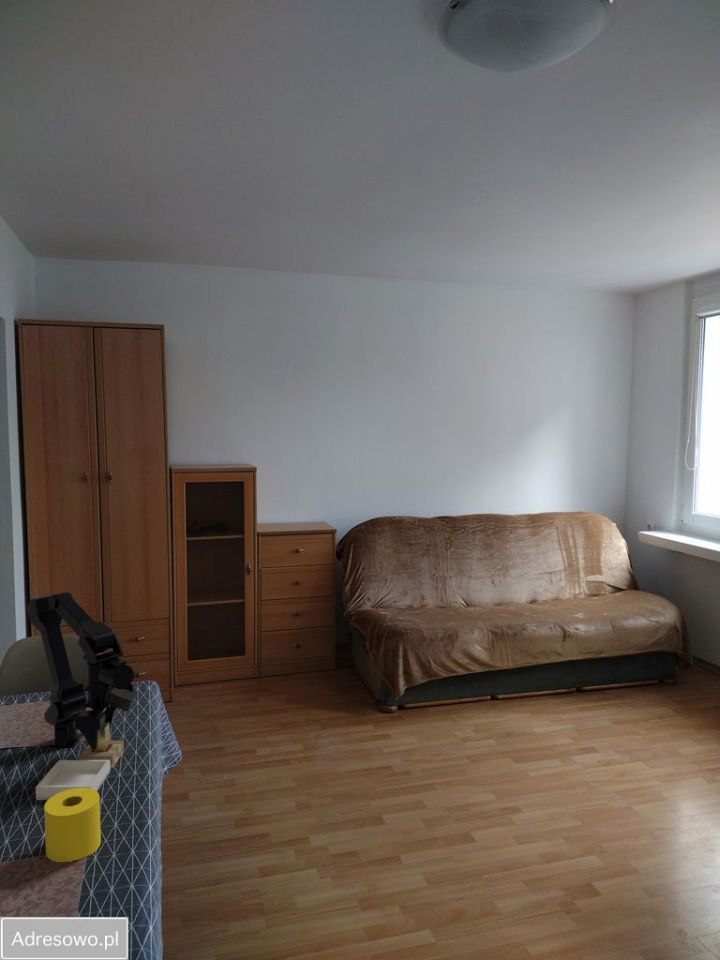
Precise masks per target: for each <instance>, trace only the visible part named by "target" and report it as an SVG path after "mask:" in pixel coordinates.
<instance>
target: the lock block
mask: <svg viewBox="0 0 720 960" xmlns="http://www.w3.org/2000/svg"><path fill="white" fill-rule="evenodd" d="M123 753H124V740H110V749H109V751H108V752H93V750H92V749H91V747H90V745H89V744H88V745H87V746H86V747H85V749H84V750H83V751H81V753H80V754H79V757H78V758H79V759H78V760H110V769H113V768H114V766H116V763H117V762H118V761H119V759H120V758H121V756H123V755H122V754H123Z"/></svg>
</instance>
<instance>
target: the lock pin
mask: <svg viewBox="0 0 720 960" xmlns="http://www.w3.org/2000/svg"><path fill="white" fill-rule="evenodd" d="M104 723H105V724H104V725H103V726H102V728H101V729H99V737H98V745H97V749H96V750H93V752H108V751H109V749H110V741H111V740H110V739H111V737H110V736H111V735H110V734H111V733H110V732H111V730H109V722H104Z"/></svg>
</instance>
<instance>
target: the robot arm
mask: <svg viewBox="0 0 720 960" xmlns="http://www.w3.org/2000/svg"><path fill="white" fill-rule="evenodd" d="M25 608H26V609H25V610H26V615H27V616H28V618H29V621H30V623H31V625H32V626H33V627H35V629H37V630H38V631H39V632H40V635H41V636H40V637H41V640H42V643H43V648H44V652H45V657H46V660H47V665H48V668H49V672H50V676H51V681H52V684H53V685H52V686H53V687H52V689H51V692H50V695H49V702H50V705H49V707H48V708H47V710H45V712H44V713H43V715H44V716H43V717H44V720H45V723H47V724H49V725H52V726H53V739H52V740H51V742H50V743H49V744H48V746H49V747H51V748H52V747H53V748H54V747H58V748H59V747H64V748H65V747H75V745H77V743H78V742H79V741H80V740H81V739H82V737H84V739H85V741H86V742H87V744H88V745H90V747H91V749H92V750H96V749H97V745H98V737H99V729H101V728H102V726H103V725H104V724H105V723H104V722H109V730H110V731H111V730H112V725H113V721H114V717H115V714H116V710H117V709H119V710H121V711H123V712H129V711H130V709H131V708H132V707H133V705H134V703H135V700H136V698H137V696H138V693H137V692H138V691H136V684H134V683H132V682H133V681H134V678H135V671H134V670H133V668H132V666H130V665H129V664H127V660H126V659H123V658H120V657H123V656H124V652H123V646H122V645H121V643H120V641H119V640H118V638H117V635H116V633H115V631H114V630H113V629H112V628H111V627H109V626H108V625H106V624H105V623H103V622H99V621H95V620H94V619H93V618H92V617H91V616H90V614H88V613H87V612H86V611H85V609H83V607H81V606H80V605H79V604H78V602H77V601H76V600H75V599H74V597H73V595H72V593H71V592H70V591H69V592H67V591H62V592H58V593H53V594H50V595H44V596H40V597H35V598H31V599H29V602H28V603H27V604H26V607H25ZM63 620H64V622H65V623H66V624H67V625H68V626H69V627H70V628H71V629H72V631H73V632H74V633H75V634H76V636H77V637H78V641H77V644H78V646H79V647H80V649H81V651H82V652H83V656H82V660H83V661H86V683H87V684H86V685H85V686H84V684H83V683H82V682H80V683H79V682H78V681H77V680H76V679H74V677H73V676H74V675H73V672H72V668H71V664H70V660H69V657H68V651H67V648H66V645H65V640H64V636H63V632H62V628H61V623H62V621H63ZM105 652H106V653H105ZM86 692H87V694H86ZM87 708H90V710H89V709H88V710H87ZM78 731H79V732H80V733H79V732H78Z"/></svg>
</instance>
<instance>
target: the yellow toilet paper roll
mask: <svg viewBox="0 0 720 960" xmlns="http://www.w3.org/2000/svg"><path fill="white" fill-rule="evenodd" d="M100 801H101V799H100V794H99V792H98V791H95V790H93V789H90V788H74V789H69V790H65V791H63V792H60V793H58V794H56V795H54V796H52V797H51V798H50V799H49V800H46V801H45V804H44V831H45V832H44V834H45V855H46V858H47V857H48V858H49V859H51V860H53V861H59V862H66V861H73V860H77V859H80V858H82V857H85V856H88V855H89V856H91V855H93V854H94V853H96V851H97V850H98V849H99V848H100V845H101V842H102V841H101V839H102V838H101V805H100V804H101V803H100ZM90 854H91V855H90ZM89 856H88V857H89ZM48 858H47V859H48ZM49 859H48V860H49ZM51 860H50V861H51ZM53 861H52V862H53Z"/></svg>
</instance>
